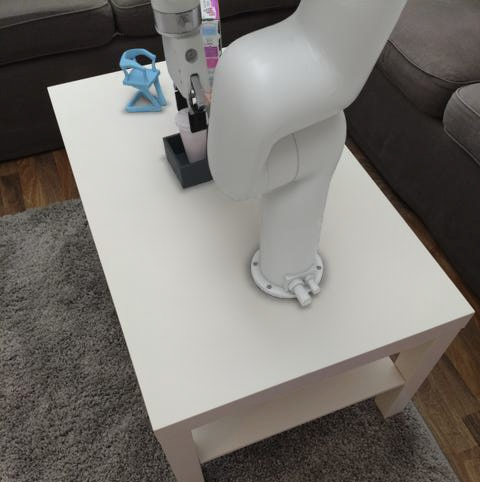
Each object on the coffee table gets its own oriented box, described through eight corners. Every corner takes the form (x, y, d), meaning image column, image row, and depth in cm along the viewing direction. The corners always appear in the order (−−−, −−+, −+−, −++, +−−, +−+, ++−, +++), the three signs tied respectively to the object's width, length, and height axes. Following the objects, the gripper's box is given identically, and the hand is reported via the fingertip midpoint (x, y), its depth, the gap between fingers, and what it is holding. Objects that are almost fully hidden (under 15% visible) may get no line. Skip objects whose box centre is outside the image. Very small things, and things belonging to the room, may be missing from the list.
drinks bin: (231, 173, 91) (230, 152, 87) (183, 189, 89) (179, 168, 85) (212, 144, 97) (210, 123, 92) (166, 158, 95) (162, 137, 90)
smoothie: (214, 149, 93) (207, 84, 81) (210, 170, 90) (202, 105, 78) (184, 148, 94) (173, 84, 82) (179, 168, 90) (167, 104, 78)
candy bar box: (225, 93, 107) (219, 18, 93) (204, 95, 107) (196, 20, 93) (223, 68, 113) (218, -6, 99) (203, 70, 113) (196, -4, 99)
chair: (157, 117, 103) (146, 64, 93) (125, 111, 104) (111, 59, 94) (170, 98, 107) (160, 46, 96) (139, 93, 108) (126, 41, 98)
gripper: (220, 34, 65) (227, 140, 81) (181, -12, 74) (194, 91, 89) (173, 47, 64) (189, 152, 79) (138, -2, 72) (159, 101, 88)
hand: (192, 119), depth 84 cm, fingers closed on smoothie, 6 cm apart
